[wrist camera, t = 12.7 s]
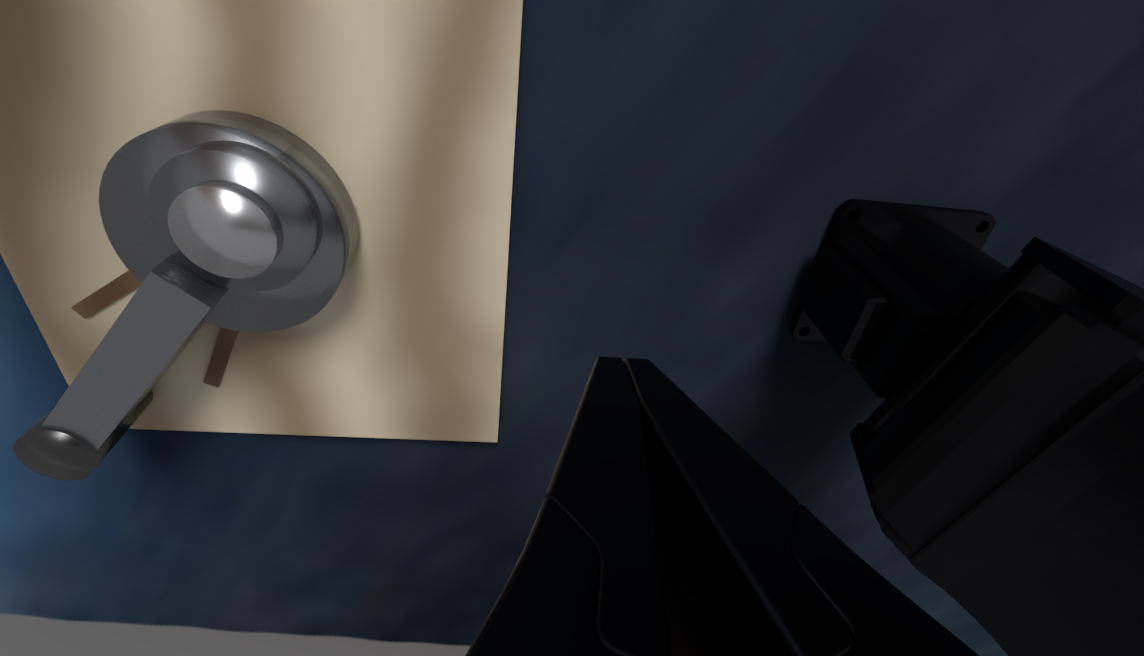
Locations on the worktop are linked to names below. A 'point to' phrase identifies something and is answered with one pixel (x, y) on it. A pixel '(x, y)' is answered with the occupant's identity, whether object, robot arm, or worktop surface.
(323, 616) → the worktop surface
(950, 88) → the worktop surface
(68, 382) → the level board
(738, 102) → the worktop surface
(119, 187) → the grey metal handled piece
